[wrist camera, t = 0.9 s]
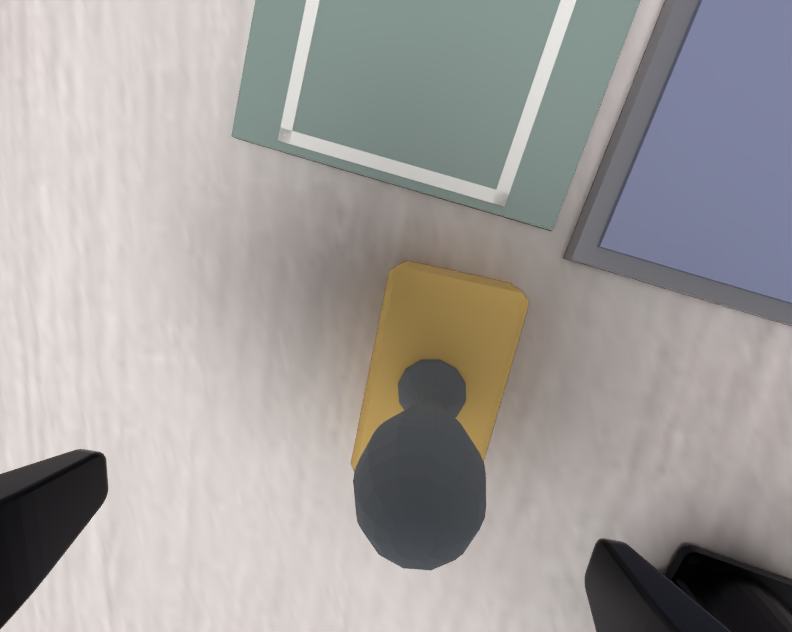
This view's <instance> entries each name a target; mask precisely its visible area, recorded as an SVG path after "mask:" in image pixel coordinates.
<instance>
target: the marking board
mask: <svg viewBox="0 0 792 632" xmlns="http://www.w3.org/2000/svg"><path fill="white" fill-rule="evenodd" d="M639 3H640V0H256V1H255V7H254V12H253V18H252V24H251V29H250V35H249V40H248V46H247V52H246V57H245V63H244V69H243V74H242V80H241V86H240V91H239V97H238V102H237V108H236V114H235V119H234V125H233V131H232V137H234V138H237V139H240V140H244V141H247V142H251V143H254V144H257V145H261V146H264V147H268V148H271V149H274V150H278V151H281V152H285V153H288V154H291V155H295V156H298V157H302V158H305V159H308V160H312V161H315V162H319V163H322V164H325V165H329V166H332V167H336V168H339V169H342V170H346V171H349V172H353V173H356V174H359V175H363V176H366V177H370V178H373V179H376V180H380V181H383V182H387V183H390V184H393V185H397V186H400V187H404V188H407V189H410V190H414V191H417V192H421V193H424V194H427V195H431V196H434V197H438V198H441V199H444V200H448V201H451V202H455V203H458V204H461V205H465V206H468V207H472V208H475V209H478V210H482V211H485V212H489V213H492V214H495V215H499V216H502V217H506V218H509V219H512V220H516V221H519V222H523V223H526V224H529V225H533V226H536V227H540V228H543V229H546V230H550V231H552V230H553V228H554V225H555V222H556V220H557V217H558V215H559V212H560V209H561V207H562V204H563V201H564V199H565V196H566V194H567V191H568V188H569V186H570V183H571V181H572V178H573V175H574V173H575V170H576V167H577V165H578V162H579V160H580V157H581V154H582V152H583V149H584V146H585V144H586V141H587V139H588V136H589V133H590V131H591V128H592V126H593V123H594V120H595V118H596V115H597V112H598V110H599V107H600V105H601V102H602V99H603V97H604V94H605V92H606V89H607V86H608V84H609V81H610V78H611V76H612V73H613V71H614V68H615V65H616V63H617V60H618V58H619V55H620V52H621V50H622V47H623V44H624V42H625V39H626V37H627V34H628V31H629V29H630V26H631V24H632V21H633V18H634V16H635V13H636V10H637V8H638V5H639Z"/></svg>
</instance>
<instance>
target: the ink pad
mask: <svg viewBox="0 0 792 632" xmlns="http://www.w3.org/2000/svg"><path fill="white" fill-rule="evenodd" d="M564 258H566V259H569V260H572V261H576V262H579V263H582V264H586V265H589V266H592V267H596V268H599V269H602V270H606V271H609V272H612V273H616V274H619V275H622V276H626V277H629V278H632V279H636V280H639V281H642V282H646V283H649V284H652V285H656V286H659V287H663V288H666V289H669V290H673V291H676V292H679V293H683V294H686V295H689V296H693V297H696V298H699V299H703V300H706V301H709V302H713V303H716V304H719V305H723V306H726V307H729V308H733V309H736V310H739V311H743V312H746V313H749V314H753V315H756V316H759V317H763V318H766V319H770V320H773V321H776V322H780V323H783V324H786V325H790V326H792V0H665V3H664V6H663V8H662V11H661V13H660V16H659V18H658V21H657V23H656V26H655V28H654V31H653V33H652V36H651V38H650V41H649V43H648V46H647V48H646V51H645V54H644V56H643V59H642V61H641V64H640V66H639V69H638V71H637V74H636V76H635V79H634V81H633V84H632V86H631V89H630V91H629V94H628V97H627V99H626V102H625V104H624V107H623V109H622V112H621V114H620V117H619V119H618V122H617V124H616V127H615V129H614V132H613V134H612V137H611V139H610V142H609V145H608V147H607V150H606V152H605V155H604V157H603V160H602V162H601V165H600V167H599V170H598V172H597V175H596V177H595V180H594V182H593V185H592V187H591V190H590V193H589V195H588V198H587V200H586V203H585V205H584V208H583V210H582V213H581V215H580V218H579V220H578V223H577V225H576V228H575V230H574V233H573V235H572V238H571V241H570V243H569V246H568V248H567V251H566V253H565V256H564Z"/></svg>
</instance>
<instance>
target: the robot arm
mask: <svg viewBox="0 0 792 632" xmlns="http://www.w3.org/2000/svg"><path fill="white" fill-rule="evenodd" d="M107 493H108V478H107V465H106V457H105V456H104V454H103V453H101V452H97V451H91V450H85V449H78V450H74V451H71V452H68V453H65V454H61V455H58V456H55V457H52V458H49V459H46V460H43V461H40V462H37V463H33V464H30V465H27V466H24V467H21V468H18V469H15V470H12V471H9V472H6V473H2V474H0V629H1V628H2V627H3V626H4V625H5V624H6V623H7V621H8V620H9V619H10V618H11V617H12V616H13V615H14V614H15V613H16V611H17V610H18V609H19V608H20V607H21V606H22V605H23V604H24V602H25V601H26V600H27V599H28V598H29V597H30V596H31V594H32V593H33V592H34V591H35V590H36V588H37V587H38V586H39V585H40V583H41V582H42V581H43V580H44V579H45V577H46V576H47V575H48V574H49V572H50V571H51V570H52V568H53V567H54V566H55V565H56V563H57V562H58V561H59V559H60V558H61V557H62V556H63V554H64V553H65V552H66V550H67V549H68V548H69V547H70V545H71V544H72V543H73V542H74V540H75V539H76V538H77V536H78V535H79V534H80V533H81V531H82V530H83V529H84V527H85V526H86V525H87V524H88V522H89V521H90V520H91V518H92V517H93V516H94V515H95V513H96V512H97V511H98V510H99V508H100V507H101V506H102V504H103V503H104V501H105V499H106V496H107ZM692 556H694V557H693V558H690V557H692ZM585 588H586V593H587V597H588V601H589V605H590V608H591V612H592V616H593V620H594V624H595V628H596V632H792V581H791V580H788V579H785V578H783V577H780V576H777V575H774V574H771V573H768V572H765V571H763V570H760V569H757V568H754V567H751V566H748V565H745V564H743V563H740V562H737V561H734V560H731V559H728V558H725V557H723V556H720V555H717V554H714V553H711V552H708V551H706V550H703V549H700V548H697V547H694V546H685V547H683V548H681V550H680V551H679V552H678V554H677V556H676V558H675V559H674V561H673V563H672V565H671V566H670V568H669V570H668V572H667V573H666V575H665V576H664V575H663V574H662V573H661V572H659V571H658V570H657V569H656V568H655V567H654V566H652V565H651V564H650V563H649V562H648V561H646V560H645V559H644V558H643V557H642V556H641V555H639V554H638V553H637V552H636V551H635V550H633V549H632V548H631V547H630V546H629V545H627V544H626V543H624V542H621V541H616V540H610V539H599V540H598V541H597V542H596V544H595V547H594V550H593V553H592V555H591V558H590V561H589V564H588V567H587V570H586V574H585Z"/></svg>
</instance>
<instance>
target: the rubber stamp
mask: <svg viewBox="0 0 792 632" xmlns="http://www.w3.org/2000/svg"><path fill="white" fill-rule="evenodd" d="M528 306H529V301H528V299H527V298H526V296H525V294H524V293H523V291H522V290H520V289H519V288H517V287H516V286H514V285H513V284H511V283H508V282H503V281H499V280H494V279H489V278H485V277H480V276H476V275H471V274H466V273H462V272H457V271H452V270H448V269H443V268H439V267H434V266H429V265H425V264H420V263H416V262H411V261H406V262H404V263H401V264H399V265H398V266H396V267H395V268H393V269H392V270H390V271H389V275H388V279H387V284H386V289H385V294H384V299H383V304H382V309H381V314H380V319H379V324H378V329H377V334H376V339H375V345H374V350H373V355H372V360H371V365H370V370H369V375H368V380H367V385H366V390H365V395H364V400H363V405H362V410H361V415H360V420H359V425H358V430H357V435H356V440H355V445H354V450H353V455H352V460H351V466H352V468H353V470H354V472H355V473H354V480H353V483H354V494H355V506H356V515H357V521H358V524H359V526H360V527H361V529H362V531H363V532H364V534H365V535H366V537H367V538H368V540H369V541H370V542H371V544H372V545H373V547H374V548H375V549H376V551H377V552H378V554H379V555H381V556H382V557H384V558H386V559H388V560H390V561H391V562H393V563H395V564H397V565H399V566H400V567H402V568H408V569H422V570H433V569H435V568H437V567H440V566H442V565H444V564H447V563H449V562H451V561H453V560H455V559H457V558H458V557H459V556H460V555H462V554H463V553H464V551H465V550H466V548H467V547H468V545H469V544H470V542H471V541H472V540H473V538H474V537H475V535H476V534H477V532H478V531H479V529H480V527H481V525H482V523H483V520H484V518H485V510H486V474H485V467H484V459H485V455H486V452H487V448H488V445H489V442H490V438H491V435H492V431H493V428H494V424H495V421H496V417H497V414H498V410H499V407H500V403H501V400H502V396H503V393H504V389H505V386H506V382H507V379H508V376H509V372H510V369H511V365H512V362H513V358H514V355H515V351H516V348H517V344H518V341H519V337H520V334H521V330H522V327H523V323H524V320H525V316H526V313H527V309H528Z"/></svg>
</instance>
